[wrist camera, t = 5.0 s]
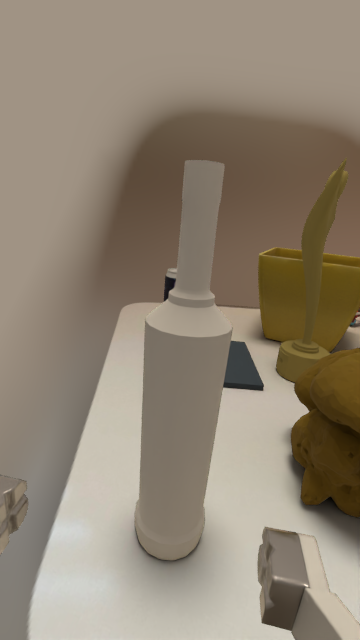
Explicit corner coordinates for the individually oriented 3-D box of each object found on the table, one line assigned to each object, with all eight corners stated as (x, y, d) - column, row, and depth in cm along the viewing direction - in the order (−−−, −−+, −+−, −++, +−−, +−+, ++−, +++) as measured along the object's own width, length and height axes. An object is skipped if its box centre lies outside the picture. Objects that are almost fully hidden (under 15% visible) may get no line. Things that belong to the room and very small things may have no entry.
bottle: (215, 524, 25) (271, 171, 17) (175, 581, 21) (225, 152, 13) (162, 489, 28) (190, 171, 20) (118, 533, 24) (132, 154, 16)
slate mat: (148, 380, 45) (149, 375, 45) (158, 338, 60) (158, 334, 60) (262, 390, 45) (263, 385, 45) (244, 345, 61) (244, 341, 60)
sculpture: (280, 356, 57) (317, 170, 48) (324, 367, 55) (372, 172, 45) (269, 383, 48) (312, 157, 38) (322, 397, 45) (382, 158, 36)
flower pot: (351, 364, 56) (378, 268, 51) (244, 340, 63) (258, 253, 58) (347, 333, 73) (367, 258, 68) (262, 316, 80) (274, 247, 75)
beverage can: (191, 326, 68) (197, 269, 65) (187, 335, 63) (193, 274, 59) (165, 322, 69) (169, 266, 66) (158, 331, 64) (162, 271, 60)
